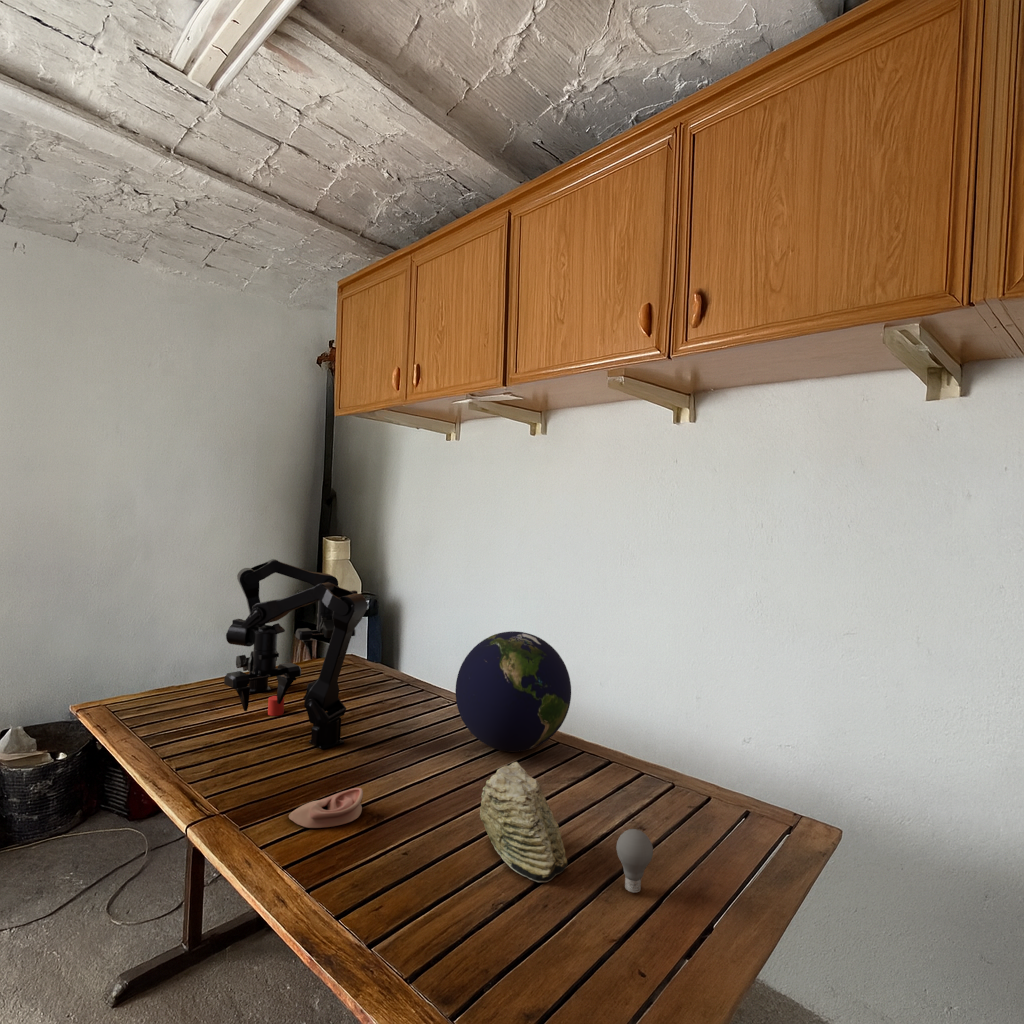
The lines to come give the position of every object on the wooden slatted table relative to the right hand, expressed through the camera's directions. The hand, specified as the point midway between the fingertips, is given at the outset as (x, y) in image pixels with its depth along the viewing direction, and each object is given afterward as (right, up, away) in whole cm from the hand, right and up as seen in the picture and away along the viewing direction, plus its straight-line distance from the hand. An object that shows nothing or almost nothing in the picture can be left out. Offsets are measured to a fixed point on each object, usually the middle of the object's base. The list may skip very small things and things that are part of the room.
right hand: (262, 707), depth 168 cm
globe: (+66, -10, -3) cm, 67 cm away
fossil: (+68, -11, -53) cm, 87 cm away
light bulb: (+86, -12, -62) cm, 107 cm away
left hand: (+3, +2, +46) cm, 46 cm away
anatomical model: (+29, -9, -42) cm, 52 cm away
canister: (-2, -6, +15) cm, 16 cm away
